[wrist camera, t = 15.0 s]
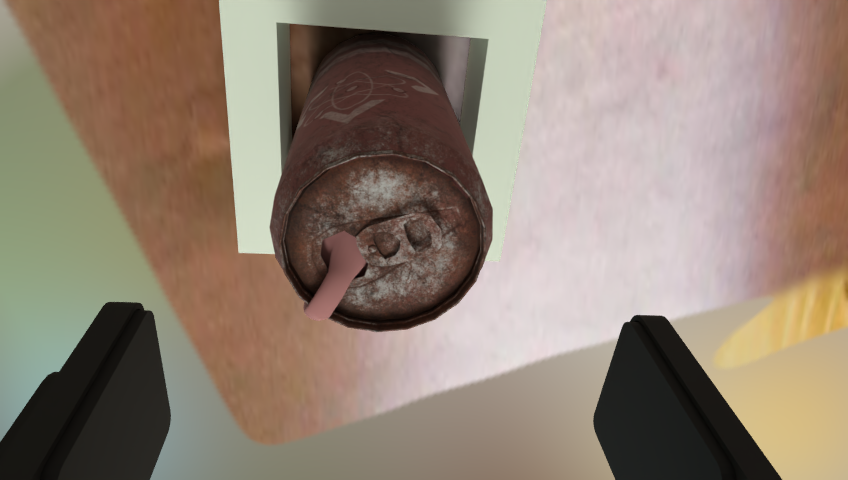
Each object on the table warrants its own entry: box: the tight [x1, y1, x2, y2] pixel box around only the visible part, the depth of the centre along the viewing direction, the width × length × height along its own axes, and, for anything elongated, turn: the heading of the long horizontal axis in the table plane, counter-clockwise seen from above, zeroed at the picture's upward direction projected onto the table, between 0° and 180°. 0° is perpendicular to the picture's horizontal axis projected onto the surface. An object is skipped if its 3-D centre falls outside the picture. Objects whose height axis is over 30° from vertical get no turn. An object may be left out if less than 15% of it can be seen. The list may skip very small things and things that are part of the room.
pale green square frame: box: [219, 0, 547, 261], centre depth 26 cm, size 12×12×4 cm
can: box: [269, 33, 493, 332], centre depth 21 cm, size 6×6×14 cm
